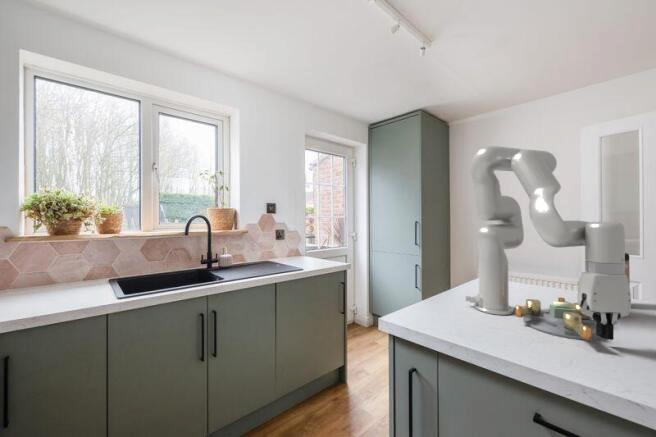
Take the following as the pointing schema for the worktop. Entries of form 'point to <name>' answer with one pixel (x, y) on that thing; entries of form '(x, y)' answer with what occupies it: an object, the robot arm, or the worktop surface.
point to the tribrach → (558, 322)
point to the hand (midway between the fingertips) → (604, 337)
